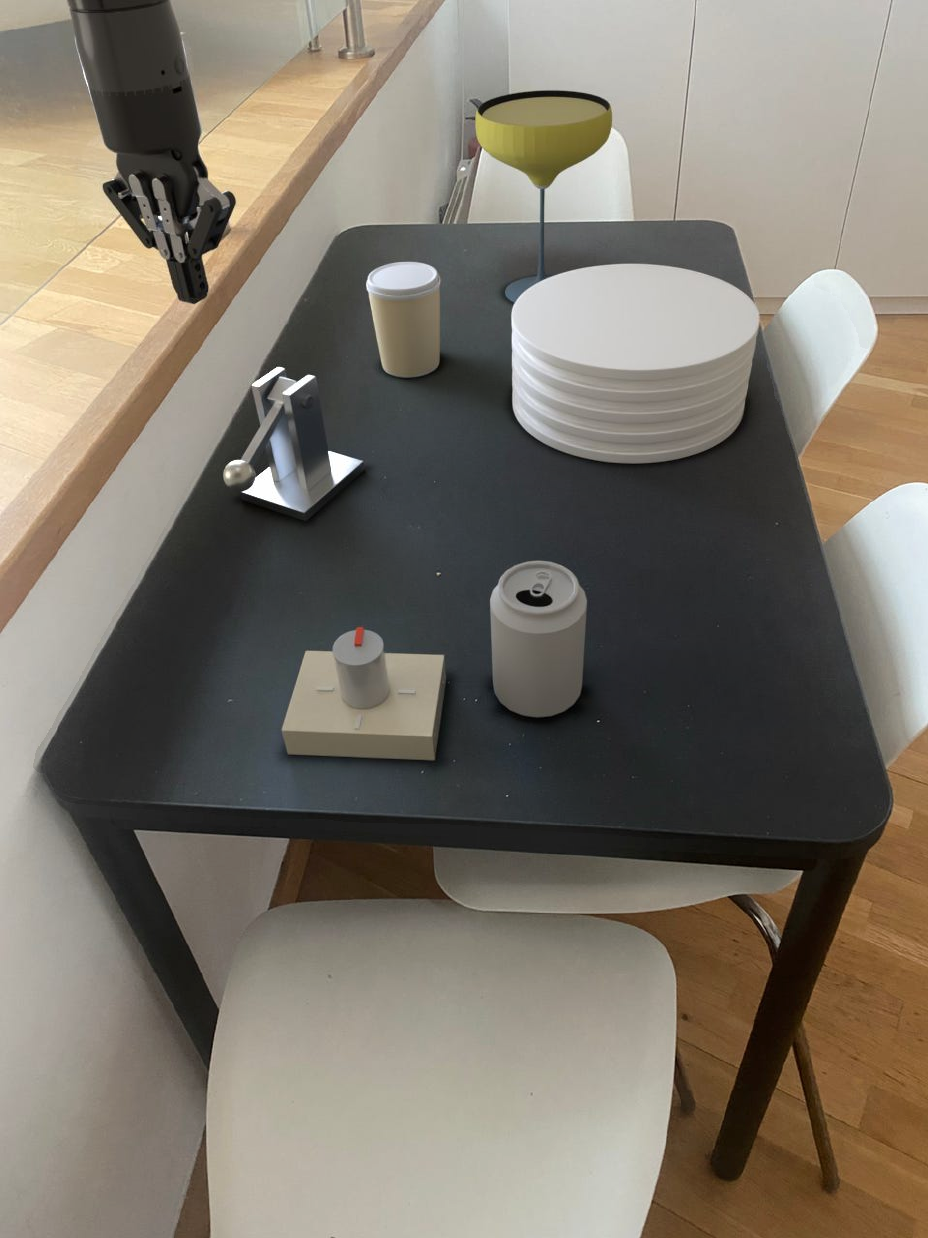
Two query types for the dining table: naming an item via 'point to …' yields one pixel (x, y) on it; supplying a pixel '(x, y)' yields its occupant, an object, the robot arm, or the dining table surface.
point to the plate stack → (632, 361)
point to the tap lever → (257, 441)
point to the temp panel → (367, 711)
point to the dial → (361, 668)
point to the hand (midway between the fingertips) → (194, 299)
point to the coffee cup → (406, 317)
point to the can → (538, 638)
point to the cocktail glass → (542, 142)
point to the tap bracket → (298, 453)
